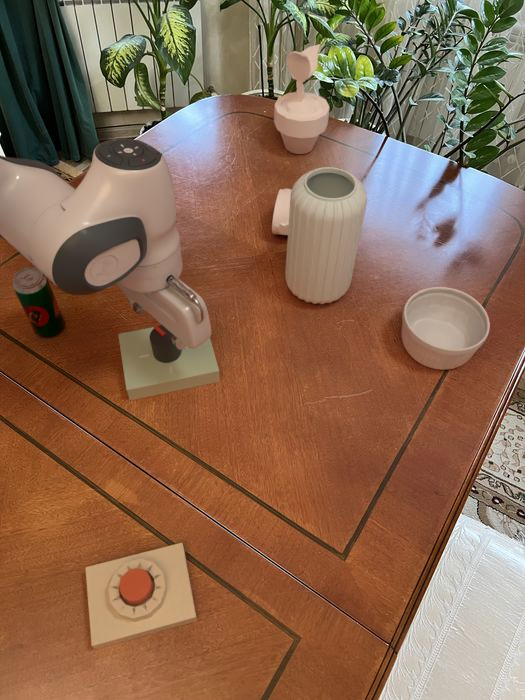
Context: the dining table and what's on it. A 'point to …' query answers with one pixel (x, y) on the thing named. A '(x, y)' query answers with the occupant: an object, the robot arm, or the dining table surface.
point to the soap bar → (281, 212)
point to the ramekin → (443, 327)
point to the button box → (150, 616)
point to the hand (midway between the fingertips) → (159, 326)
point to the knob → (163, 345)
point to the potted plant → (301, 105)
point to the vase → (324, 234)
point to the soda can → (38, 302)
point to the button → (136, 586)
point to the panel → (164, 366)
